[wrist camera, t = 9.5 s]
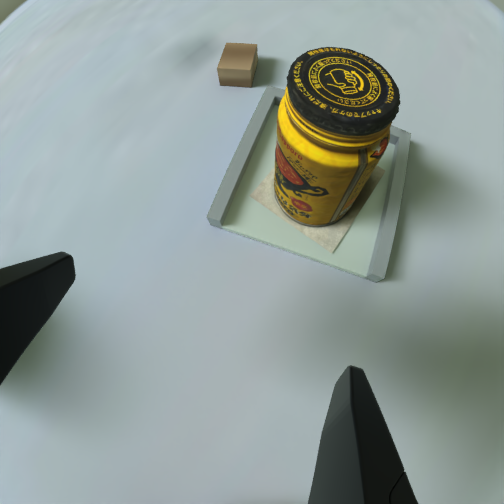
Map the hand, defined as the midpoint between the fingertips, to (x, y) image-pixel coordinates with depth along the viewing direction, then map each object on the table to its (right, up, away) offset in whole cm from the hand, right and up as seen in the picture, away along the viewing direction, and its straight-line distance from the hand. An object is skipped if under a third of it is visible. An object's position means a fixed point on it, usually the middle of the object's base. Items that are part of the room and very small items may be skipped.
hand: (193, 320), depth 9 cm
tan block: (0, +19, +19) cm, 27 cm away
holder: (+7, +7, +16) cm, 18 cm away
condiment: (+7, +7, +15) cm, 18 cm away
